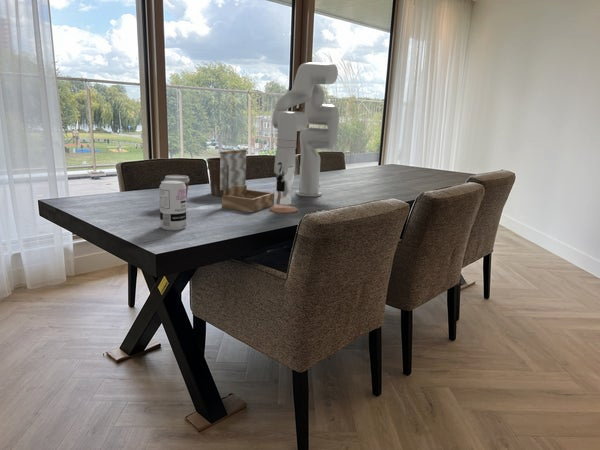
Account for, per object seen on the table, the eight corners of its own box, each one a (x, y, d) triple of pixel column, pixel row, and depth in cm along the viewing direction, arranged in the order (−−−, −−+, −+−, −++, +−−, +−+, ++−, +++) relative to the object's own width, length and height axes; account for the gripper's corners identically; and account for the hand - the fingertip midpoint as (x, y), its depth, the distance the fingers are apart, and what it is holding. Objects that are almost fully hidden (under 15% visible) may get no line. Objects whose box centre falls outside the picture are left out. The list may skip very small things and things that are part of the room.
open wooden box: (243, 200, 195) (244, 149, 190) (274, 204, 189) (276, 152, 184) (219, 207, 179) (219, 151, 174) (252, 212, 173) (253, 155, 168)
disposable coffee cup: (194, 206, 178) (194, 176, 175) (178, 210, 169) (178, 179, 166) (175, 203, 182) (175, 173, 179) (159, 207, 173) (158, 176, 170)
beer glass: (290, 206, 176) (292, 168, 172) (273, 204, 177) (274, 166, 173) (294, 202, 182) (296, 166, 178) (277, 201, 183) (279, 164, 180)
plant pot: (199, 195, 201) (199, 159, 197) (216, 190, 216) (216, 156, 212) (232, 199, 196) (233, 162, 192) (247, 193, 211) (248, 159, 207)
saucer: (277, 206, 187) (277, 204, 187) (301, 209, 183) (301, 207, 183) (264, 210, 177) (264, 208, 177) (289, 214, 173) (290, 212, 173)
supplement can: (163, 224, 149) (162, 179, 146) (188, 224, 150) (188, 180, 146) (157, 230, 142) (156, 183, 138) (184, 231, 142) (184, 184, 139)
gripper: (287, 142, 183) (285, 186, 187) (267, 144, 167) (265, 191, 172) (304, 144, 180) (302, 188, 184) (285, 146, 165) (283, 194, 169)
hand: (284, 189), depth 178 cm, fingers closed on beer glass, 6 cm apart
